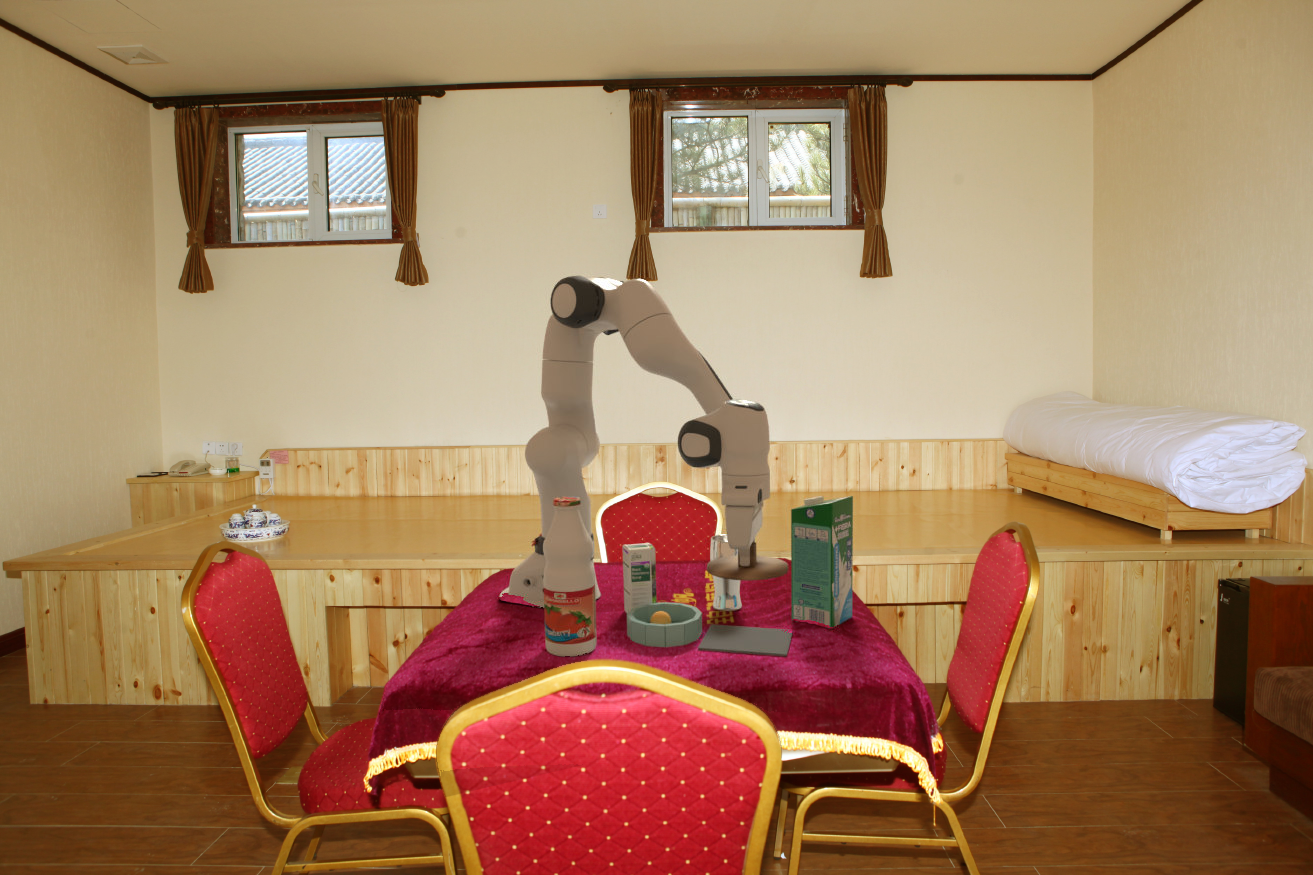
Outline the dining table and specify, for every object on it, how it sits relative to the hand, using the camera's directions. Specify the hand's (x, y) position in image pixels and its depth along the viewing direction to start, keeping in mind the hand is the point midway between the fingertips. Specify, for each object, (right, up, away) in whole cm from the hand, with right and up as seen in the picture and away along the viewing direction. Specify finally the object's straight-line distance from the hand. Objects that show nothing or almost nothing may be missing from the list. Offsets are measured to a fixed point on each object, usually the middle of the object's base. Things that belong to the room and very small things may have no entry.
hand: (746, 562), depth 147 cm
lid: (0, -1, 0) cm, 1 cm away
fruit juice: (-33, -16, -1) cm, 36 cm away
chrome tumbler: (-2, -13, +22) cm, 26 cm away
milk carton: (+17, -14, +13) cm, 25 cm away
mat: (0, -15, +1) cm, 15 cm away
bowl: (-15, -15, +6) cm, 22 cm away
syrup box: (-20, -14, +19) cm, 31 cm away
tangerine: (-16, -12, +5) cm, 21 cm away
